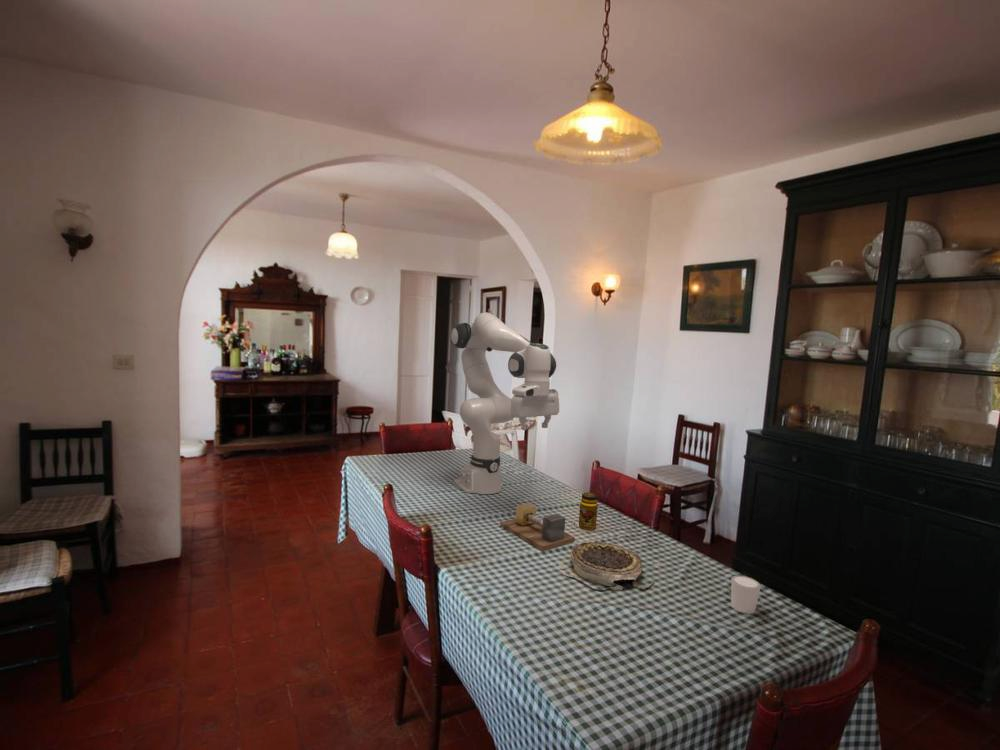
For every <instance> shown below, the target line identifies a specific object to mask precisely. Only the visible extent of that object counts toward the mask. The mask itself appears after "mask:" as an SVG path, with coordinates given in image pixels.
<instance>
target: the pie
mask: <svg viewBox="0 0 1000 750" xmlns="http://www.w3.org/2000/svg"><path fill="white" fill-rule="evenodd" d="M573 546H574V547H573V548H572V549H571V550H570V555H569V556H570V557H569V558H570V560H571V562H572V565H573V567H569V570H568V573H569V575H568V574H566V573H565V572H563V571H561V570H559V572H561V574H562V575H563V576H566V577H569V578H570V577H571V578H574V579H576V580H577V581H579V582H581V581H580V578H579V577H581V578H582V579H584V580H586V581H587V580H588V581H590V582H592V583H595V584H599V585H600V584H601V585H604V586H607V587H608V589H611V590H613V591H623V589H624V587H623V585H620V584H618V583H617V584H616V583H614V581H622V580H624V581H626V580H627V581H629V580H630V581H631V580H632V583H631V584H632V587H634V588H637V590H638V589H641V590H646V589H647V588H648V589H650V588H651V587H652V586H653V585H655V584H654V583H655V582H653V583H651V584H650V585H647V587H645V586H641V585H639V584H637V578H638V577H639V576H640V574H641V573H642V570H643V564H642V562H643V559H641V556H640V555H639V553H638V552H636V551H633V550H631V549H628V548H624V546H620V545H618V544H615V543H611V542H610V543H607V542H604V541H603V542H602V541H597V542H595V541H591V542H585V541H584V542H581V543H578V544H576V545H573ZM562 565H565V564H564V563H560V562H559V563H558V568H561V569H562V570H564V569H566V567H565V566H562ZM583 584H585V585H586V586H587V587H589V588H592V589H594V590H595V589H596V588H593V587H592V586H590V585H589V584H587V583H586V582H583ZM596 590H597V591H598V589H596Z"/></svg>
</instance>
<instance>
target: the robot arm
mask: <svg viewBox="0 0 1000 750" xmlns="http://www.w3.org/2000/svg"><path fill="white" fill-rule="evenodd" d="M450 339H451V343H452V345H453V346H454V348H457V349H463V350H462V351H461V357H460V358H461V363H462V371H463V373H464V377H465V381H466V384H467V388H468V390H469V391H470V392H471V393H473V394H475V395H476V396H478V397H474V398H473V397H472V398H469V399H466V400H464V401H462V403H461V405H460V406H459V407H460V408H459V416H460V418H461V420H462V421H463V422H464V424H466V425H467V427H469V430H470V431H471V434H472V439H473V445H472V446H473V448H472V451H473V452H472V454H471V455H469V457H468V459H470V461H469V463H468V464H467V465H465V466H464V467H462V468H461V470H460V473H459V477H457V478H456V479H455V478H454V480H453V483H454V484H456V486H458V487H459V488H460V489H461V490H463V491H464V492H465V493H468V494H469V493H470V494H478V495H479V494H480V495H493V494H498V493H500V492H501V491H502V488H503V486H504V484H503V483H502V469H501V467H500V465H501V456H500V453H501V452H500V451H501V450H500V449H501V439H500V437H499V436H498V434H496V433H494V431H492V428H491V425H493V424H505V423H507V422H511V421H512V420H514V419H515V418H516V419H518V420H519V422H520V427H521V430H522V431H527V430H528V429H529V427H528V426H529V425H528V424H526V421H527V418H533V417H534V418H536V417H543V418H544V420H543V422H541V428H542V429H548V428H549V423H550V421H551V419H552V416H557V415H558V414H559V413H560V398H559V391H558V390H556V389H554V388H552V389H551V388H550V384H551V383H550V382H551V381H550V380H551V379H550V378H551V377H552V376H553V375H554V374H555V372H556V370H557V360H556V359H555V356H553V354H552V353H551V350H550V347H549V346H548V345H547V344H544V343H539V342H531V341H530V340H528V339H527V338H526V337H524V336H523V335H521V334H519V333H518V332H516V331H515V330H513V329H512V328H510V327H509V326H508V325H506V324H505V323H504V322H503V320H501V319H499V317H498V316H496V315H494V314H492V313H490V312H488V311H487V312H481V313H479V314H478V315H477V316H476V317H475V318H474V320H473V322H461V323H459V324H458V323H457V324H455V325H454V326H453V327H452V328H451V331H450ZM493 350H494V351H500V352H508V353H512V354H511V355H510V357H509V359H508V362H507V368H508V371H509V374H510V375H511V376H512V377H514V378H518V379H524V381H523V382H524V383H522V384H520V385H519V386H517V387H514V388H513V389H512V390H511V392H512V393H511V394H512V395H513V396H512V397H511V398H510V397H508V396H507V394H505V393H504V392H502V390H501V389H500V388H499V386H498V385H497V384H496V382H495V380H494V378H493V375H492V372H491V370H490V369H491V368H490V366H489V362H488V359H487V357H486V354H487V353H486V352H489V353H490V352H492V351H493Z"/></svg>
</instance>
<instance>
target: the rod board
mask: <svg viewBox="0 0 1000 750" xmlns="http://www.w3.org/2000/svg"><path fill="white" fill-rule="evenodd" d="M526 519H528V520H530V521H532V522H533V523H531V524H527V525H523V526H522V525H521V524H519V523H517V522H515V518H513V519H512V518H511V519H508V520H504V521H500V524H499V526H501V527H500V528H502V527H503V528H505V529H506V530H505V529H504V530H505V531H507V530H508V531H507V532H509V533H510V532H511V533H510V534H512V533H513V535H514V534H515V535H516V537H517V536H518V537H517V538H519V539H521V540H523V541H524V542H526V543H528V544H529V545H531V546H533V547H534V548H536V549H538V550H539V551H541V552H546V551H548V550H551V549H555V548H559V547H561V546H565V545H568V544H572V543H576V542H575V538H576V537H575V536H574V535H571V534H569V533H567V532H566V531H565V529H566V526H565V525H566V517H564V516H562V515H560V514H558V513H554V514H551V515H546V516H542V519H541V518H539V517H537V516H536V517H535V516H533V515H531V514H527V518H526ZM503 528H502V529H503ZM515 535H514V536H515Z"/></svg>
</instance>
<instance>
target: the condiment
mask: <svg viewBox="0 0 1000 750" xmlns="http://www.w3.org/2000/svg"><path fill="white" fill-rule="evenodd" d="M598 505H599V504H598V496H597V494H595V493H593V492H584V493H582V494H581V500H580V503H579V514H578V522H579V528H580V529H579V528H578V529H579V530H580V531H581V532H582V533H584V532H585V533H586V532H588V533H589V532H597V531H601V528H599V527H598V528H596V526H597V518H598V517H597V516H598ZM574 522H575V524H574ZM576 522H577V521H573V523H572V524H573V525H574V526H575V527H577V526H576V525H577V524H576ZM581 529H582V530H581ZM596 529H597V530H596Z"/></svg>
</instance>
